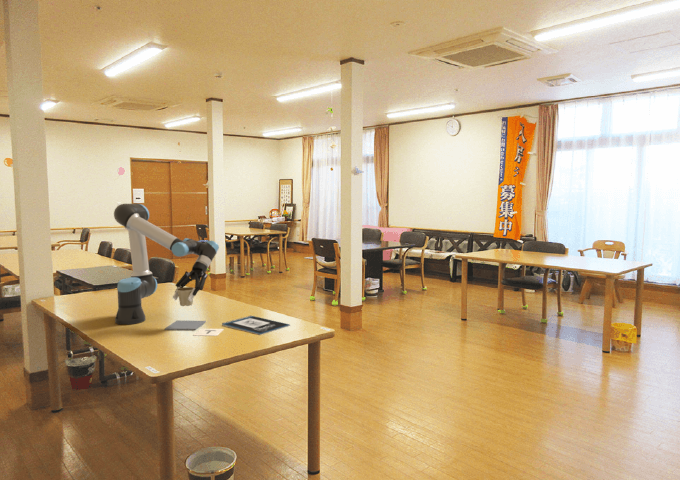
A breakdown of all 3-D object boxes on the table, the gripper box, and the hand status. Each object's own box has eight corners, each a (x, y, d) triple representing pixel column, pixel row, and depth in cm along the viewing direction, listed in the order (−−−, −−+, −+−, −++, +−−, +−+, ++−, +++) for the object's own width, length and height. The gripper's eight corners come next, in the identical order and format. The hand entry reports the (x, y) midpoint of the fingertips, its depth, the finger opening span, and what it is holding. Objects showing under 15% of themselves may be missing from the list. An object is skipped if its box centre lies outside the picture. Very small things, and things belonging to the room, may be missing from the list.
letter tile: (192, 335, 225) (192, 335, 225) (201, 328, 237) (201, 328, 237) (217, 335, 224) (217, 335, 224) (224, 329, 236) (224, 328, 236)
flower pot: (189, 307, 235) (189, 290, 235) (173, 306, 237) (172, 290, 237) (198, 303, 245) (198, 287, 244) (182, 302, 247) (182, 286, 246)
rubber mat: (164, 329, 234) (164, 328, 234) (177, 321, 250) (177, 320, 250) (195, 330, 234) (195, 328, 234) (205, 322, 250) (205, 320, 249)
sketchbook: (260, 336, 226) (260, 332, 226) (220, 326, 244) (220, 322, 243) (290, 326, 243) (290, 322, 243) (251, 318, 261) (250, 314, 261)
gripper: (220, 270, 249) (202, 305, 236) (189, 268, 258) (169, 301, 245) (214, 262, 244) (194, 296, 231) (182, 260, 253) (161, 293, 239)
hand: (181, 299), depth 238 cm, fingers closed on flower pot, 9 cm apart
